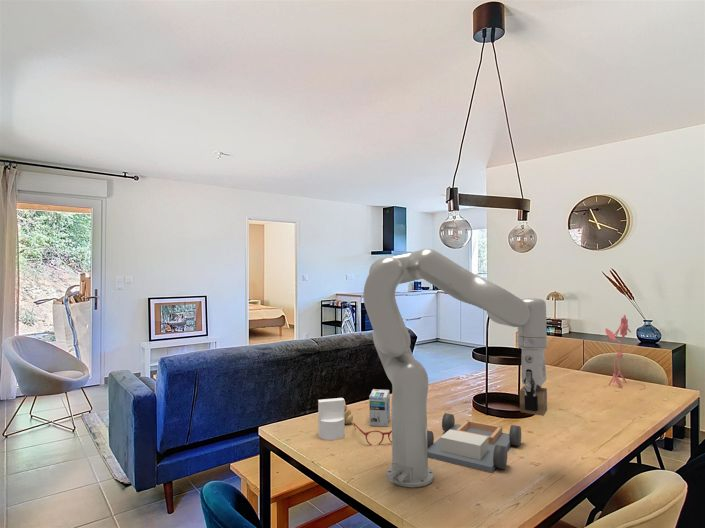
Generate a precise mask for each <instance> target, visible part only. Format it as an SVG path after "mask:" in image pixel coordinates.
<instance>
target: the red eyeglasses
mask: <svg viewBox="0 0 705 528" xmlns="http://www.w3.org/2000/svg"><path fill="white" fill-rule="evenodd" d="M353 426H354V429H355V431H356V430H357V429H358V431H359V432H360V433H361V434H363V435H364V436H365V440H366V442H367V444H369V445H370V446H373V444H372V443H370V442H369V440H368V435H369V434H371V433H380V434H381V436H382V437H381V440H380V441H379V442H378V443H377V444H379V445H381V444H382V442H383V441H384V439H385V435H387V438H388V440H389V442H390V443H391V444H392V439H391V438H390V435H391V434H392V430H390V431H385V432H383V431H381V430H371V431H370V430H369V431H365V432H364V431H363V430H362V429H361V428H360V427H358V425H357V424H356V423H355V422H353ZM356 428H357V429H356Z"/></svg>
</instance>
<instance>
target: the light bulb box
mask: <svg viewBox="0 0 705 528" xmlns="http://www.w3.org/2000/svg"><path fill="white" fill-rule="evenodd" d="M390 392H391V391H390V390H389V389H375V388H373V389H372V390H371V393H370V394H369V396H368V398H369V399H368V400H369V401H368V402H369V403H368V404H369V405H368V406H369V427H370V426H373V427H388V426H389V422H390V419H391V406H390V405H391V403H390V402H391V400H390V398H391V397H390V394H391V393H390Z"/></svg>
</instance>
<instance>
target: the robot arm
mask: <svg viewBox="0 0 705 528" xmlns="http://www.w3.org/2000/svg"><path fill="white" fill-rule="evenodd" d="M418 280H424V281H426V282H427V283H429V284H431V285H432V286H434V287H436V288H438V290H440V291H442V292H444V293H446V294H447V295H448V296H451V298H454V299H456V300H458V301H460V302H463V303H465V304H468V305H472V306H475V307H477V308H479V309H482V310H483V311H486V314H487V316H488V318H489V319H490V320H491V321H492V322H494V323H495V324H499V325H503V326H508V327H512V328H517V348H518V349H521V355H520V356H521V360H520V361H521V364H520V365H521V383H522V384H523V386H525V410H529V411H538V400H537V396H536V388H537V386H538V387H539V388H542V386H543V385H544V384H545V383H546V380H547V370H546V369H547V367H546V357H545V350H547V349H548V338H547V337H548V336H547V335H548V334H547V333H548V331H547V305H546V301H545V300H544V299H542V298H532V297H531V298H529V297H528V298H520V297H518V296H516V295H515V294H513V293H512V292H510V291H508V290H507V289H505V288H503V287H502V286H499V285H497V284H495V283H493V282H491V281H489V280H487V279H485V278H483V277H482V276H480V275H477V274H475V273H473V272H472V271H470V270H468V269H466V268H464V267H463V266H461V265H459V264H458V263H456V262H455V261H454V260H451V259H450V258H448V257H446V256H445V255H443V254H441V253H440V252H438V251H436V250H434V249H432V248H423V249H419V250H416V251H413V252H409V253H405V254H399V255H394V256H383V257H380V258H378V259H377V260H375V261H374V262H373V263H371V265H370V267H369V271H368V276H367V277H366V280H365V284H364V287H363V294H362V295H363V304H364V307H365V309H366V313H367V316H368V318H369V322H370V325H371V328H372V340H373V341H372V342H373V344H374V347H375V349H376V352H377V355H378V358H379V359H380V362H381V365H382V367H383V369H384V372H385V374H386V376H387V378H388V380H389V381H390V383H391V385H392V386H391V389H392V392H391V431H392V432H391V441H392V443H391V450H392V451H391V459H392V460H391V461H392V462H391V463H392V465H390V466H389V467H388V468H387V469H386V476H385V477H386V481H387V482H389V483H393V484H394V483H395V485H398V486H400V487H406V488H421V487H425V486H427V485H429V484H432V483H433V481H434V479H435V478H434V477H435V476H434V471H433V469H432V468H430V467H429V466H428V465H429V461H428V458H429V457H428V452H427V430H428V416H427V414H428V411H427V403H428V392H429V376H428V373H427V371H426V368H425V367H424V365H423V364H422V363H421V362H420V361H418V360H417V359H416V358H415V357H414V355H413V353H412V350H411V347H410V346H411V336H410V333H409V330H408V329H407V326H406V324H405V322H404V319H403V317H402V315H401V311H400V309H399V306H398V303H397V300H396V290H397V287H398V286H399V285H401V284H405V283H410V282H416V281H418ZM531 387H534V391H533V388H531Z"/></svg>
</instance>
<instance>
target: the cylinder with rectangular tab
mask: <svg viewBox="0 0 705 528" xmlns="http://www.w3.org/2000/svg"><path fill="white" fill-rule="evenodd" d="M344 400H345V399H344V398H343V397H337V398H325V399H324V398H323V399H317V401H318V403H317V405H318V407H317V408H318V410H317V411H318V414H317V415H318V418H317V420H318V438H319V439H322V440H324V441H325V440H326V441H337V440H336V439H338V440H341V439H342V437H343V438H344V437H345V432H346V431H345V421H344ZM340 438H341V439H340Z"/></svg>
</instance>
